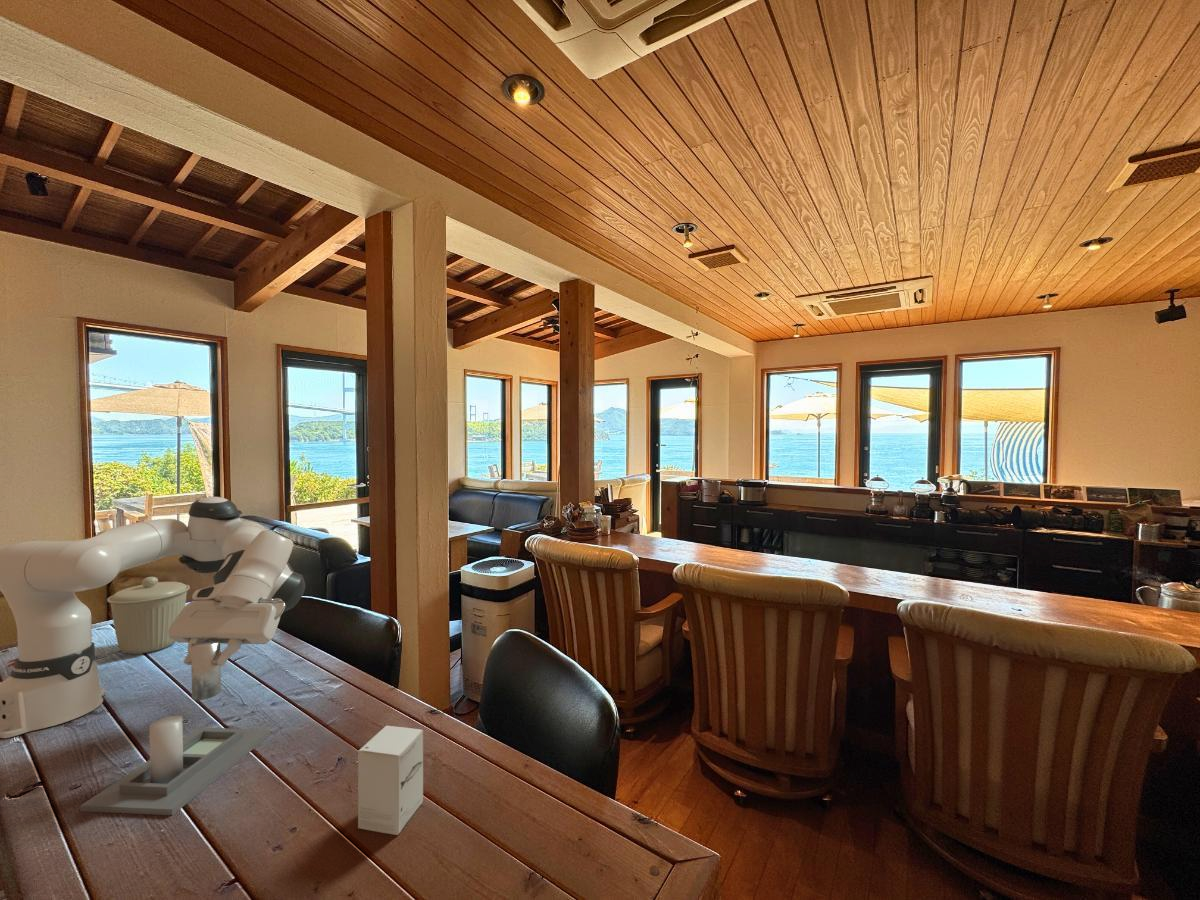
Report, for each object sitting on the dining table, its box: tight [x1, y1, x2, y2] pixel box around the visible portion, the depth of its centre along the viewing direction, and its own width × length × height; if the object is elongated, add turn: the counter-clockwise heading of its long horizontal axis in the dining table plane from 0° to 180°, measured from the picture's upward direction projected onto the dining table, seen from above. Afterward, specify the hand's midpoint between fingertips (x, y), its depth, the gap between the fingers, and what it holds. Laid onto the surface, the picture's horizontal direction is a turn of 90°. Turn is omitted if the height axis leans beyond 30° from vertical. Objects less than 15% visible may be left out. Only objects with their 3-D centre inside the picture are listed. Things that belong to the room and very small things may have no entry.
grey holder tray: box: [80, 715, 272, 816], centre depth 91 cm, size 16×22×11 cm
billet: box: [190, 639, 222, 701], centre depth 95 cm, size 4×4×10 cm
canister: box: [106, 576, 191, 655], centre depth 145 cm, size 18×18×21 cm
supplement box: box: [357, 725, 424, 836], centre depth 79 cm, size 7×7×13 cm
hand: (203, 664), depth 94 cm, fingers closed on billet, 4 cm apart
